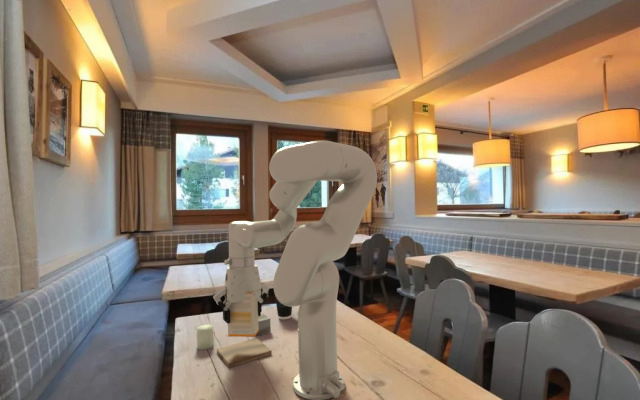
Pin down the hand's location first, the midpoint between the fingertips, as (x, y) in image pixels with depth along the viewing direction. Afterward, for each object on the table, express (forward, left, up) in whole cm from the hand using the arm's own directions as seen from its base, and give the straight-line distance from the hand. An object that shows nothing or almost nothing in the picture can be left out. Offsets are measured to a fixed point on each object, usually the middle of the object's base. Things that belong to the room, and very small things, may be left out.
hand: (242, 318), depth 99 cm
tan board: (0, 0, -11) cm, 11 cm away
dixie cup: (+19, -25, -11) cm, 33 cm away
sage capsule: (+12, +8, -11) cm, 18 cm away
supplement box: (0, 0, -5) cm, 5 cm away
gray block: (+12, -11, -11) cm, 20 cm away
